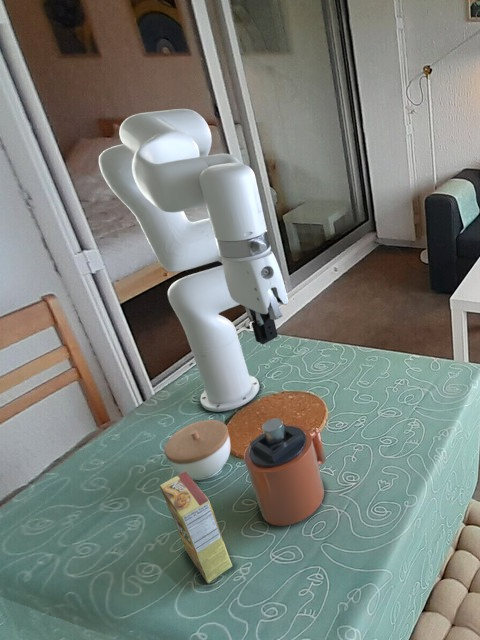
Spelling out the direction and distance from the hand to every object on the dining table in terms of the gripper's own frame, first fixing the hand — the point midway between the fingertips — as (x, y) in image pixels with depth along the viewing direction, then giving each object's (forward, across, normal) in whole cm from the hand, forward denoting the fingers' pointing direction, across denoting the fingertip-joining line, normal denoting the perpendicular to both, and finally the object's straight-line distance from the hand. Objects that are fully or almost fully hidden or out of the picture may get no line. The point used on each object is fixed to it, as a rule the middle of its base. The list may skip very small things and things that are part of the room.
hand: (267, 339), depth 88 cm
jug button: (+14, -8, +7) cm, 17 cm away
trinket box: (+29, +13, +11) cm, 34 cm away
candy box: (+29, -6, +22) cm, 37 cm away
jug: (+29, -8, +6) cm, 30 cm away
